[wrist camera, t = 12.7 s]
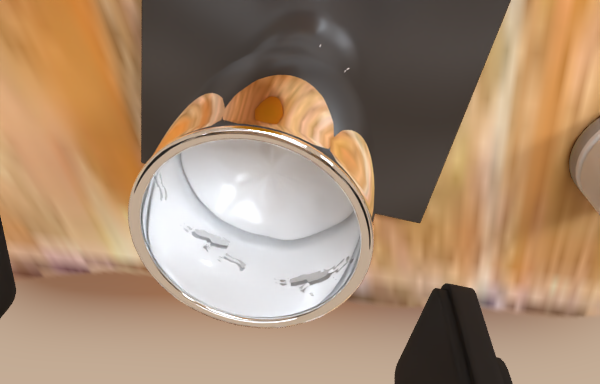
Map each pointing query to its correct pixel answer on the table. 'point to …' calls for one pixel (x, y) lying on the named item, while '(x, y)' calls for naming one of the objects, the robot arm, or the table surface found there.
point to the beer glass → (265, 183)
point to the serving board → (374, 73)
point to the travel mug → (587, 164)
